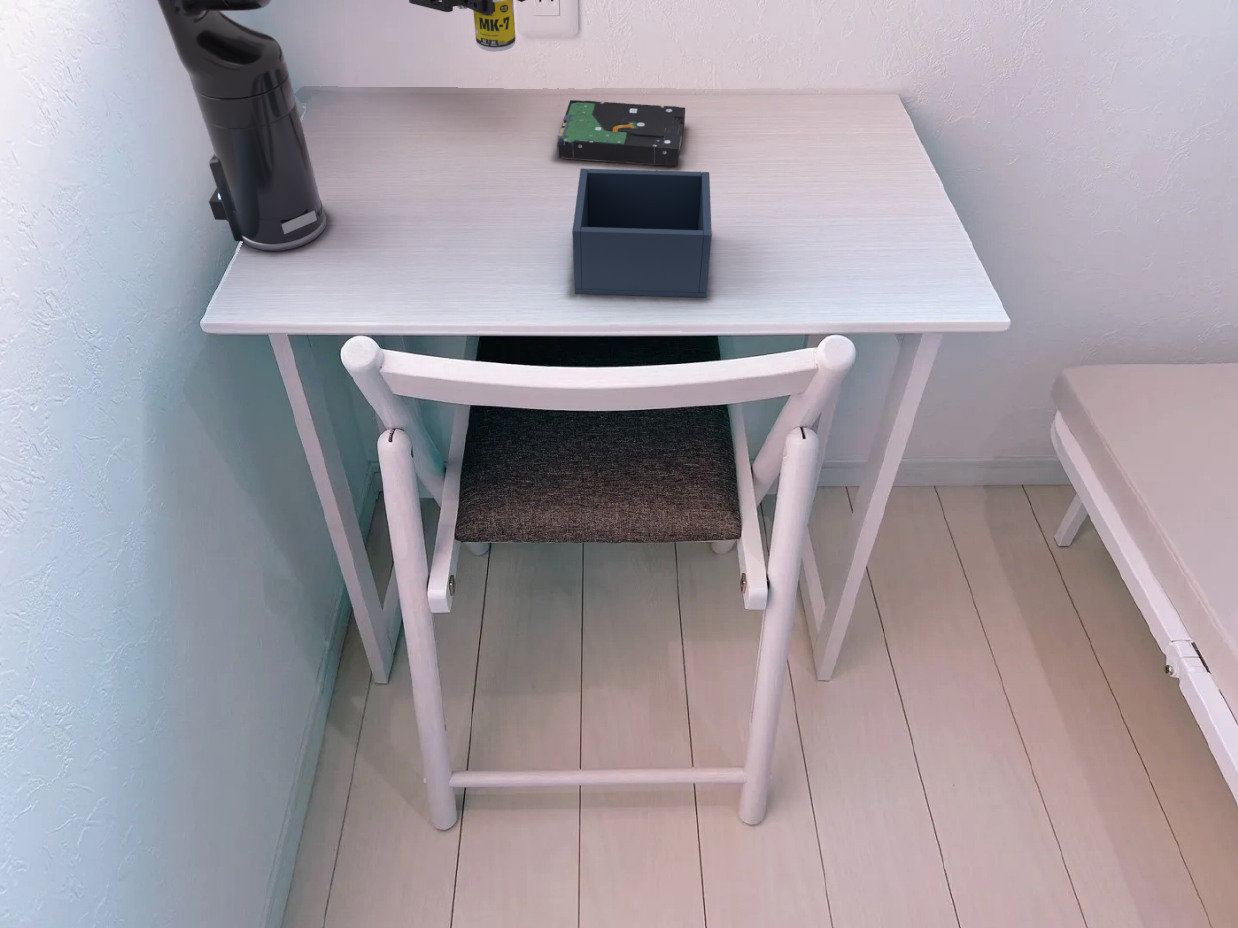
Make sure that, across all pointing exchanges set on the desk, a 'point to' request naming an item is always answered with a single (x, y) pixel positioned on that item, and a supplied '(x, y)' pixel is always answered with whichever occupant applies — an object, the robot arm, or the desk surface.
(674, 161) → the disk drive
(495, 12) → the supplement bottle
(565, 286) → the desk surface
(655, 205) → the bin
